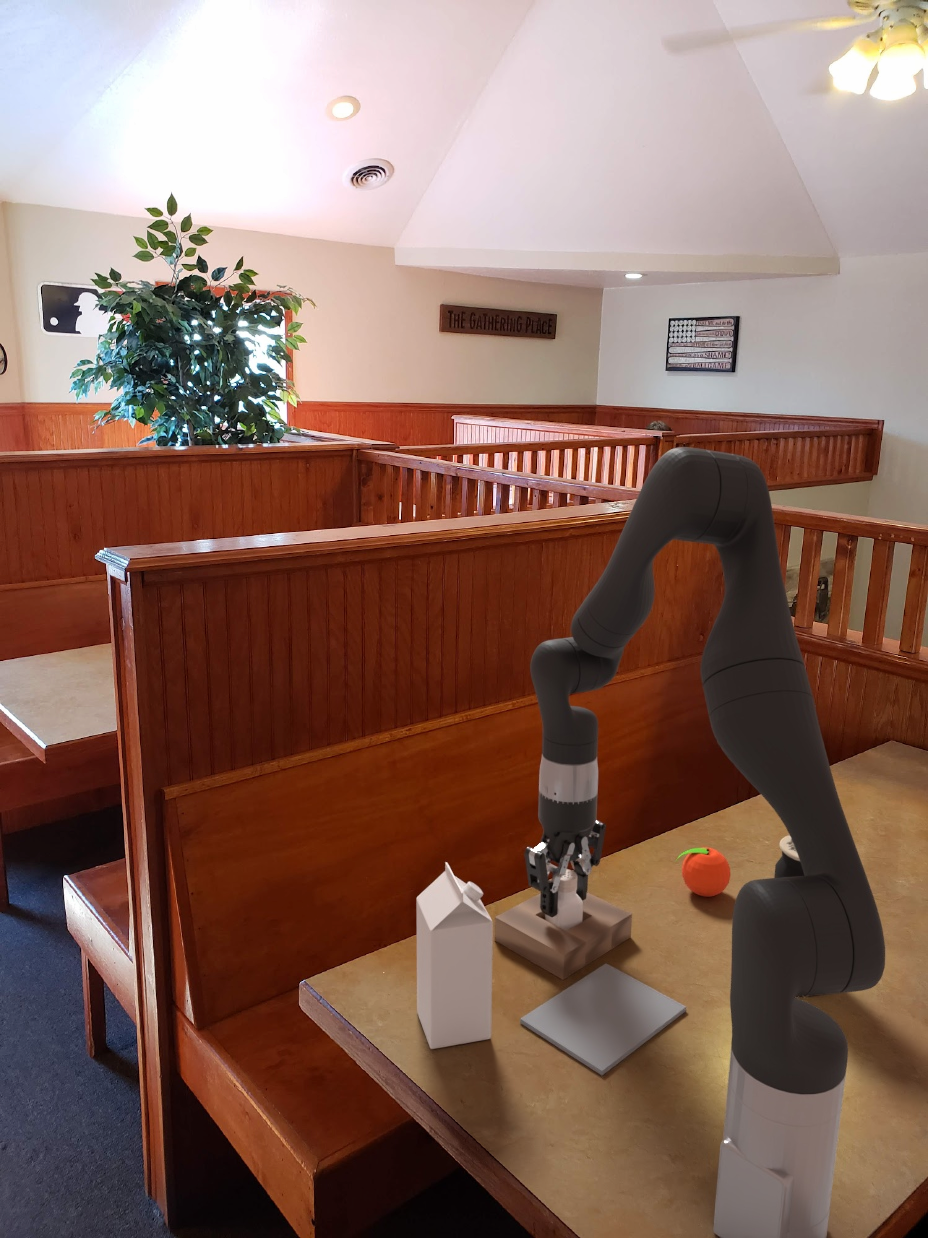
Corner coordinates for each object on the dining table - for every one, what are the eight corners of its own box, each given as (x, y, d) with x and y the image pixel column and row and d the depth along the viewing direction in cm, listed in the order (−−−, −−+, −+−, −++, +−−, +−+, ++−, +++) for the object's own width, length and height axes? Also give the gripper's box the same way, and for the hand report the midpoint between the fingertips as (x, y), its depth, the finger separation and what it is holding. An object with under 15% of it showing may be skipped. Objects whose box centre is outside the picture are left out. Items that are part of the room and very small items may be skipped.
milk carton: (430, 1051, 106) (430, 897, 102) (416, 1012, 113) (415, 866, 108) (491, 1040, 108) (494, 888, 104) (474, 1002, 115) (475, 858, 110)
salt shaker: (583, 944, 127) (585, 879, 125) (556, 950, 126) (558, 884, 123) (569, 928, 131) (571, 865, 128) (542, 934, 129) (544, 870, 127)
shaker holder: (563, 980, 119) (564, 955, 118) (494, 940, 128) (494, 917, 127) (630, 937, 129) (632, 913, 128) (562, 903, 137) (563, 881, 136)
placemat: (601, 1076, 103) (602, 1071, 102) (520, 1023, 111) (520, 1018, 111) (686, 1011, 113) (686, 1006, 113) (605, 967, 122) (605, 963, 122)
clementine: (673, 902, 137) (676, 857, 136) (672, 879, 144) (674, 835, 142) (730, 908, 136) (734, 862, 134) (726, 884, 143) (730, 840, 141)
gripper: (553, 813, 115) (549, 938, 119) (625, 781, 125) (619, 897, 129) (508, 794, 121) (506, 915, 125) (581, 765, 130) (576, 877, 134)
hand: (564, 905), depth 127 cm, fingers open, 5 cm apart
